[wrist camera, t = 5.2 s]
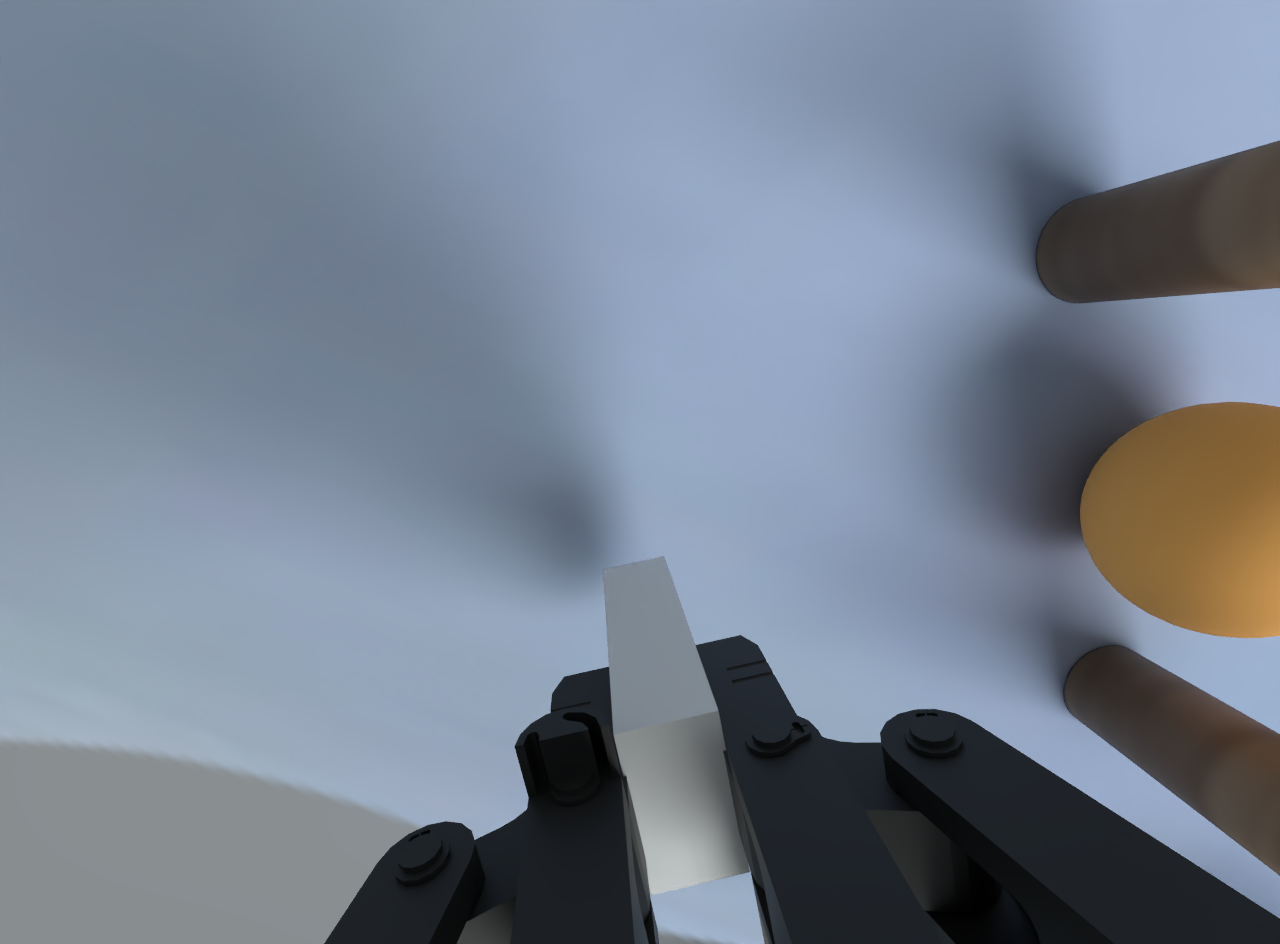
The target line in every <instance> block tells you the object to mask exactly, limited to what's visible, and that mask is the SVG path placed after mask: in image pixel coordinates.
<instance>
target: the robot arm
mask: <svg viewBox="0 0 1280 944" xmlns="http://www.w3.org/2000/svg"><path fill="white" fill-rule="evenodd" d="M603 579H604V594H605V610H606V626H607V641H608V657H609V667H606V668H601V669H597V670H592V671H588V672H583V673H579V674H574V675H570V676H566V677H564V678H563V679H562V681H561V682H560V683H559V685H558V686H557V688H556V689H555V690H554V692H553V693H552V701H551V713H549V714H547V715H545V716H543V717H541V718H540V719H538V720H536V721H535V722H533V723H531V724H530V725H529V726H528V727H527V728H526V729H525V730H524V731H523V732H522V733H521V734H520V736H519V738H518V740H517V743H516V745H515V749H516V753H517V757H518V760H519V764H520V768H521V771H522V775H523V779H524V782H525V786H526V789H527V793H528V797H529V800H528V808H527V810H526V811H524V812H523V813H522V814H521V815H519V816H518V817H517V818H516V819H514V820H513V821H511V822H509V823H508V824H506V825H504V826H502V827H501V828H499V829H497V830H495V831H492V832H490V833H488V834H486V835H484V836H482V837H480V838H478V839H476V840H474V837H473V834H472V831H471V830H470V829H468V828H467V827H466V826H464V825H463V824H462V823H455V822H447V821H446V822H441V823H436V824H431V825H427V826H425V827H423V828H421V829H419V830H416V831H414V832H412V833H410V834H408V835H407V836H405V837H404V838H403V839H402V840H400V841H399V842H397V843H396V844H395V845H394V846H392V847H391V848H390V849H389V850H388V851H387V853H386V854H385V855H384V856H383V857H382V858H381V860H380V861H379V862H378V863H377V865H376V866H375V868H374V869H373V871H372V872H371V874H370V875H369V877H368V878H367V880H366V881H365V883H364V884H363V886H362V888H361V889H360V890H359V892H358V893H357V895H356V896H355V898H354V899H353V901H352V902H351V904H350V905H349V907H348V909H347V910H346V912H345V913H344V915H343V916H342V918H341V919H340V921H339V922H338V924H337V925H336V927H335V928H334V930H333V931H332V933H331V935H330V936H329V937H328V939H327V940H326V942H325V943H324V944H659V939H658V930H657V925H656V921H655V916H654V912H653V908H652V904H651V900H650V892H651V895H655V894H659V893H663V892H667V891H672V890H676V889H680V888H684V887H688V886H693V885H697V884H701V883H705V882H709V881H714V880H718V879H722V878H726V877H730V876H735V875H739V874H743V873H747V872H750V870H751V875H752V880H753V885H754V890H755V895H756V900H757V906H758V911H759V916H760V921H761V926H762V931H763V936H764V942H765V944H1280V919H1279V918H1278V917H1276V916H1275V915H1273V914H1272V913H1270V912H1268V911H1267V910H1265V909H1264V908H1262V907H1261V906H1259V905H1258V904H1256V903H1254V902H1253V901H1251V900H1250V899H1248V898H1247V897H1245V896H1244V895H1242V894H1240V893H1239V892H1237V891H1236V890H1234V889H1233V888H1231V887H1230V886H1228V885H1226V884H1225V883H1223V882H1222V881H1220V880H1219V879H1217V878H1216V877H1214V876H1212V875H1211V874H1209V873H1208V872H1206V871H1205V870H1203V869H1202V868H1200V867H1198V866H1197V865H1195V864H1194V863H1192V862H1191V861H1189V860H1188V859H1186V858H1184V857H1183V856H1181V855H1180V854H1178V853H1177V852H1175V851H1174V850H1172V849H1170V848H1169V847H1167V846H1166V845H1164V844H1163V843H1161V842H1160V841H1158V840H1156V839H1155V838H1153V837H1152V836H1150V835H1149V834H1147V833H1146V832H1144V831H1142V830H1141V829H1139V828H1138V827H1136V826H1135V825H1133V824H1132V823H1130V822H1128V821H1127V820H1125V819H1124V818H1122V817H1121V816H1119V815H1118V814H1116V813H1114V812H1113V811H1111V810H1110V809H1108V808H1107V807H1105V806H1104V805H1102V804H1100V803H1099V802H1097V801H1096V800H1094V799H1093V798H1091V797H1090V796H1088V795H1086V794H1085V793H1083V792H1082V791H1080V790H1079V789H1077V788H1076V787H1074V786H1072V785H1071V784H1069V783H1068V782H1066V781H1065V780H1063V779H1062V778H1060V777H1058V776H1057V775H1055V774H1054V773H1052V772H1051V771H1049V770H1048V769H1046V768H1044V767H1043V766H1041V765H1040V764H1038V763H1037V762H1035V761H1034V760H1032V759H1031V758H1029V757H1027V756H1026V755H1024V754H1023V753H1021V752H1020V751H1018V750H1017V749H1015V748H1013V747H1012V746H1010V745H1009V744H1007V743H1006V742H1004V741H1003V740H1001V739H999V738H998V737H996V736H995V735H993V734H992V733H990V732H989V731H987V730H985V729H984V728H982V727H981V726H979V725H978V724H976V723H975V722H973V721H971V720H969V719H967V718H964V717H962V716H960V715H958V714H956V713H951V712H946V711H942V710H937V709H917V710H912V711H908V712H904V713H900V714H898V715H896V716H895V717H893V718H892V719H890V720H889V721H887V722H886V723H885V725H884V727H883V729H882V731H881V732H880V736H881V743H852V742H840V741H835V740H831V739H827V738H824V737H822V736H821V734H820V733H819V731H818V730H817V729H816V728H815V727H814V726H813V725H812V724H811V723H810V721H808V720H806V719H804V718H802V717H799V716H797V715H796V713H795V711H794V709H793V708H792V706H791V704H790V702H789V700H788V699H787V697H786V695H785V693H784V691H783V690H782V688H781V686H780V684H779V682H778V681H777V679H776V677H775V675H774V674H773V672H772V670H771V668H770V666H769V665H768V663H767V662H766V659H765V657H764V656H763V654H762V652H761V650H760V648H759V647H758V645H757V644H755V643H753V642H751V641H750V640H748V639H746V638H744V637H743V636H741V635H739V636H735V637H730V638H726V639H721V640H717V641H713V642H708V643H704V644H699V645H695V643H694V640H693V637H692V634H691V631H690V629H689V626H688V623H687V620H686V617H685V614H684V611H683V609H682V606H681V603H680V600H679V597H678V594H677V592H676V589H675V586H674V583H673V580H672V577H671V575H670V572H669V569H668V566H667V563H666V560H665V558H664V556H663V557H658V558H654V559H649V560H645V561H640V562H636V563H631V564H626V565H622V566H617V567H613V568H608V569H604V570H603ZM748 864H749V865H748ZM749 867H750V870H749ZM649 887H650V892H649Z"/></svg>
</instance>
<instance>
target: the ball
mask: <svg viewBox="0 0 1280 944" xmlns="http://www.w3.org/2000/svg"><path fill="white" fill-rule="evenodd" d="M1080 521H1081V529H1082V535H1083V538H1084V542H1085V545H1086V547H1087V549H1088V552H1089V554H1090V556H1091V558H1092V560H1093V562H1094V564H1095V565H1096V567H1097V568H1098V570H1099V571H1100V572H1101V574H1102V575H1103V576H1104V577H1105V579H1106V580H1107V581H1108V582H1109V583H1110V584H1111V585H1112V586H1113V587H1114V588H1115V589H1116V590H1117V591H1118V592H1119V593H1120V594H1121V595H1123V596H1124V597H1125V598H1126V599H1128V600H1129V601H1130V602H1132V603H1133V604H1134V605H1136V606H1137V607H1139V608H1141V609H1142V610H1144V611H1146V612H1147V613H1149V614H1151V615H1153V616H1155V617H1157V618H1159V619H1162V620H1164V621H1166V622H1168V623H1171V624H1173V625H1176V626H1179V627H1182V628H1185V629H1188V630H1192V631H1196V632H1200V633H1205V634H1210V635H1215V636H1225V637H1237V638H1262V637H1272V636H1279V635H1280V407H1276V406H1269V405H1262V404H1254V403H1244V402H1223V403H1211V404H1200V405H1195V406H1190V407H1185V408H1181V409H1178V410H1174V411H1171V412H1168V413H1165V414H1162V415H1159V416H1157V417H1155V418H1152V419H1150V420H1148V421H1146V422H1144V423H1142V424H1140V425H1138V426H1137V427H1135V428H1133V429H1132V430H1130V431H1129V432H1127V433H1126V434H1124V435H1123V436H1122V437H1120V438H1119V439H1118V440H1117V441H1116V442H1115V443H1114V444H1112V445H1111V446H1110V447H1109V448H1108V449H1107V451H1106V452H1105V453H1104V454H1103V455H1102V456H1101V457H1100V459H1099V460H1098V462H1097V463H1096V465H1095V466H1094V468H1093V469H1092V471H1091V473H1090V475H1089V477H1088V479H1087V481H1086V484H1085V487H1084V490H1083V493H1082V499H1081V505H1080Z"/></svg>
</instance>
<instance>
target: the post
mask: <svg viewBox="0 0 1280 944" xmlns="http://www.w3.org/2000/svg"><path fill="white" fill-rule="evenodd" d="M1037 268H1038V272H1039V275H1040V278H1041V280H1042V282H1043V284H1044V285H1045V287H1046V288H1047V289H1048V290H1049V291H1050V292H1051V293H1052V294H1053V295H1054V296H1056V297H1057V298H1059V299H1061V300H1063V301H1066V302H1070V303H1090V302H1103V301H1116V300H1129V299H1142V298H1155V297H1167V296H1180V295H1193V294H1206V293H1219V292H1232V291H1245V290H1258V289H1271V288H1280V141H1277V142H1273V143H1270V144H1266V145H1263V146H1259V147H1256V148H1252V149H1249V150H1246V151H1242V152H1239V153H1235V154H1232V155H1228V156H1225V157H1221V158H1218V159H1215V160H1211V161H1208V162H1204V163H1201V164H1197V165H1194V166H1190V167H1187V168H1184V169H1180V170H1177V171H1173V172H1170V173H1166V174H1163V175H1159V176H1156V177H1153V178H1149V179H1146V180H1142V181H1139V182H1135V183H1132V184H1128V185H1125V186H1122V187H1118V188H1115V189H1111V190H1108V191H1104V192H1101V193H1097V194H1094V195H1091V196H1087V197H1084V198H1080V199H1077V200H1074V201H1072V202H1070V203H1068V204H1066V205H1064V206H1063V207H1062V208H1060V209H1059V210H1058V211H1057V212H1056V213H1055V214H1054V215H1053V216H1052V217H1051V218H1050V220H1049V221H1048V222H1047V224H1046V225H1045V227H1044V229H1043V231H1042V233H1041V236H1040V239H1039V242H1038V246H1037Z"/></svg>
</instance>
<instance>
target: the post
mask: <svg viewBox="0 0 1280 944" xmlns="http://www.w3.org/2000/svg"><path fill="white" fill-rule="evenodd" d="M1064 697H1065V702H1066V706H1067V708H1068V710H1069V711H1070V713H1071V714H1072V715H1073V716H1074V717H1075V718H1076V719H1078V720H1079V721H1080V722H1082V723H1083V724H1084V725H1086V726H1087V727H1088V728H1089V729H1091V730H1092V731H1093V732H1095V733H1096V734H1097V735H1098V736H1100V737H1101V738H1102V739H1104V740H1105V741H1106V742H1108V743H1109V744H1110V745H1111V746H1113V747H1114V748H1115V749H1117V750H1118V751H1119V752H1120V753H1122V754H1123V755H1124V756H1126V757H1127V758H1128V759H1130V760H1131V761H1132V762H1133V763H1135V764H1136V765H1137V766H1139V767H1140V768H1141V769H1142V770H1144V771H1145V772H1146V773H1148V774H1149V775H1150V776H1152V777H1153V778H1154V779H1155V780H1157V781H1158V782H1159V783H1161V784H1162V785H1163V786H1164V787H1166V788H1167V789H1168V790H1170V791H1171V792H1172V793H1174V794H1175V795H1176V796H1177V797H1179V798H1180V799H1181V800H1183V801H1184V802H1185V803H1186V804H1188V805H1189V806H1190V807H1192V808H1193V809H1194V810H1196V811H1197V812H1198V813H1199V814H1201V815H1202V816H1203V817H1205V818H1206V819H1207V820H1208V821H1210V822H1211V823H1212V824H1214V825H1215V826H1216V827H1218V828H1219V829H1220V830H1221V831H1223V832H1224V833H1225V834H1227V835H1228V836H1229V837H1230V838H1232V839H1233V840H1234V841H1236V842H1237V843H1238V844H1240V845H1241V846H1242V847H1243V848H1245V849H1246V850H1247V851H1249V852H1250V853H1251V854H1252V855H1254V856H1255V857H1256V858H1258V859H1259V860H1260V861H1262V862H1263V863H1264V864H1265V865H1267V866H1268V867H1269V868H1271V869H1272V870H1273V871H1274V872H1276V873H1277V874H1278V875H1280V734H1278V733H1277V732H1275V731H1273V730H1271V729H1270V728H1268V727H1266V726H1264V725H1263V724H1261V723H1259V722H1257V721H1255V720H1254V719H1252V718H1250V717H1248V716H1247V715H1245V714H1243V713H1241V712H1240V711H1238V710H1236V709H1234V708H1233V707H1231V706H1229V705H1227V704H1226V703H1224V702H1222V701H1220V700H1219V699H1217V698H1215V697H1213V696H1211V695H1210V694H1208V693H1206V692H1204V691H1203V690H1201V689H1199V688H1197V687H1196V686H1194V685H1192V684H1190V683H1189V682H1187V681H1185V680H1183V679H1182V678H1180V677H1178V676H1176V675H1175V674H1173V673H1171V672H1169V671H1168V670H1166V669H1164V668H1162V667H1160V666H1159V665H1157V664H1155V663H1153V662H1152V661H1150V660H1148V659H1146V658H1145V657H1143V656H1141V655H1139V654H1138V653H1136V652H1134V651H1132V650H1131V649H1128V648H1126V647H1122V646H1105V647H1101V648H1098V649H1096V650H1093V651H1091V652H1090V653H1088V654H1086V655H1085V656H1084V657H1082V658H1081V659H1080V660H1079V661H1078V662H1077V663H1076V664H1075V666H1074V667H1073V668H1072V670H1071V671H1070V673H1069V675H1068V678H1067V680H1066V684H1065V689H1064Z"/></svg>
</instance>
